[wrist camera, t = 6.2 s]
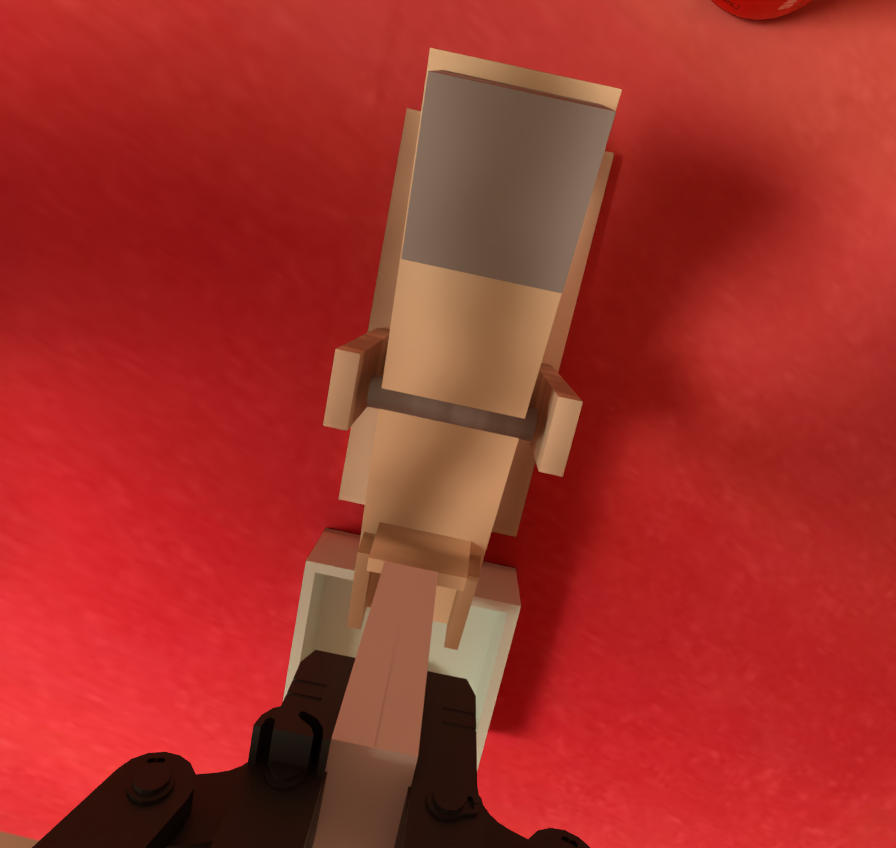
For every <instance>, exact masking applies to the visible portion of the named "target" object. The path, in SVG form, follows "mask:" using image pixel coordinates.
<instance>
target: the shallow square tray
mask: <svg viewBox="0 0 896 848" xmlns="http://www.w3.org/2000/svg"><path fill="white" fill-rule="evenodd" d="M360 536H361V535H357V534H352V533H348V532H343V531H338V530H334V529H329V528H325V530H324V532H323V533H322V535H321V537H320V538H319V540H318V542H317V543H316V545H315V547H314V548H313V550H312V551H311V553H310V555H309V556H308V558H307V560H306V564H305V570H304V576H303V582H302V588H301V594H300V600H299V606H298V612H297V618H296V625H295V631H294V637H293V643H292V649H291V655H290V661H289V667H288V673H287V679H286V685H285V691H284V697H283V701H284V698H285V696H286V695H287V691H288V689H289V687H290V685H291V682H292V681H293V678H294V676H295V673H296V671H297V669H298V666H299V664H300V662H301V661H302V660H303V659H305V658H306V657H307V656H308V655H310V654H311V653H312V652H313V651H315V650H320V651H325V652H329V653H334V654H339V655H344V656H349V657H354V658H356V655H357V652H358V648H359V645H360V642H361V638H362V635H363V632H364V628H365V625H366V622H367V618H368V615H369V612H370V607H367V608H366V612H365V615H364V619H363V622H362V626H361V629H355V628H351V627H347V622H348V615H349V608H350V600H351V593H352V586H353V579H354V572H355V565H356V558H357V552H358V549H359V543H360ZM520 608H521V602H520V594H519V587H518V580H517V573H516V568H512V567H508V566H503V565H498V564H493V563H489V562H484V561H483V562H482V565H481V569H480V573H479V580H478V583H477V587H476V590H475V593H474V597H473V600H472V603H471V607H470V610H469V614H468V617H467V620H466V624H465V627H464V630H463V634H462V637H461V640H460V644H459V647H458V650H454V649H450V648H445V647H444V644H445V636H446V629H447V624H446V623H441V622H436V621H433V623H432V632H431V641H430V650H429V660H428V669H427V671H430V672H435V673H440V674H445V675H450V676H454V677H459V678H464V679H467V680H468V682H469V684H470V686H471V688H472V690H473V692H474V694H475V695H476V742H477V770H478V766H479V763H480V759H481V755H482V751H483V748H484V744H485V740H486V736H487V733H488V729H489V725H490V721H491V717H492V714H493V710H494V706H495V702H496V699H497V695H498V691H499V687H500V684H501V680H502V676H503V672H504V669H505V665H506V661H507V657H508V654H509V650H510V646H511V642H512V639H513V635H514V631H515V627H516V624H517V620H518V616H519V612H520Z"/></svg>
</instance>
